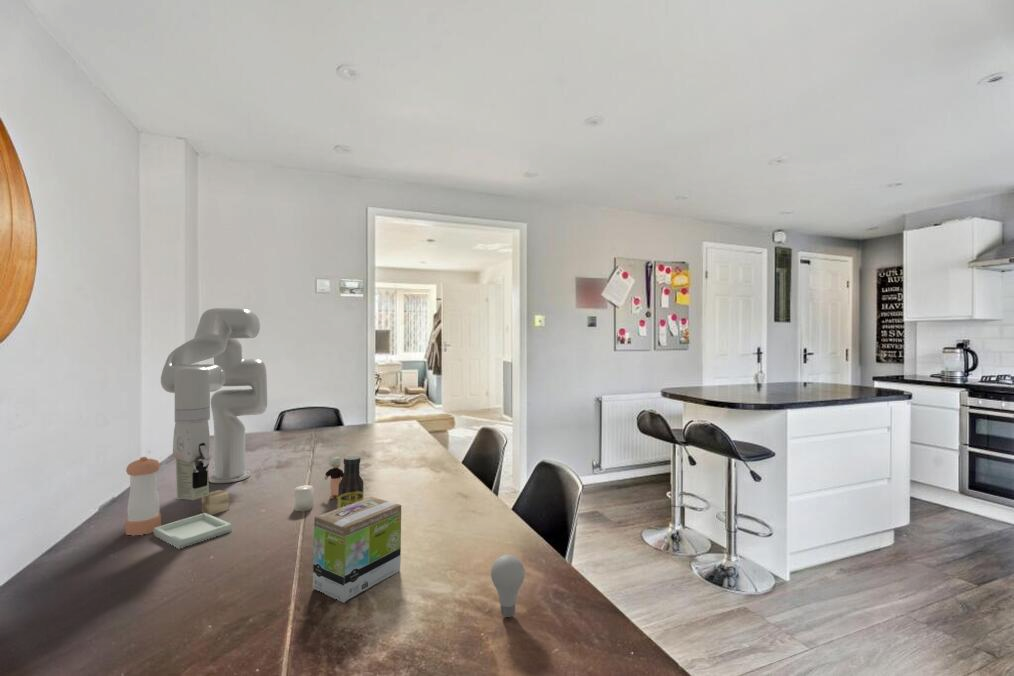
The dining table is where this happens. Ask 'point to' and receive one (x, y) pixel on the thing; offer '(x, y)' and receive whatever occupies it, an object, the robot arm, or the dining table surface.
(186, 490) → the skincare box
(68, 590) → the dining table surface
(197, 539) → the tray
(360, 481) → the sauce bottle
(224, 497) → the beech block
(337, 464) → the grandmother figurine
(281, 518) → the dining table surface
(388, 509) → the tea box
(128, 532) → the salt shaker
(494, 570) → the lightbulb
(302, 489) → the cream cylinder
